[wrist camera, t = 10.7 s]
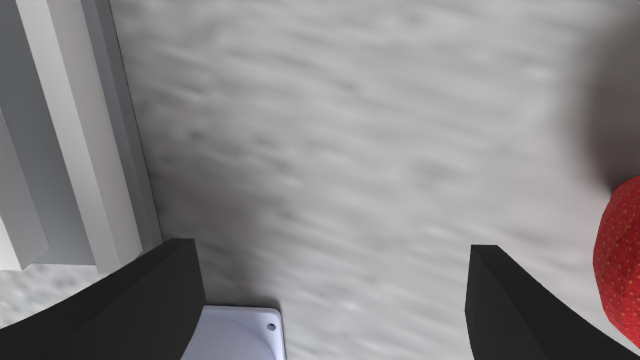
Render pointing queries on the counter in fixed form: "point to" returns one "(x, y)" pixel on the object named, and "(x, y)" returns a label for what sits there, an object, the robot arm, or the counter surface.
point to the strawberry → (620, 259)
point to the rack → (69, 141)
